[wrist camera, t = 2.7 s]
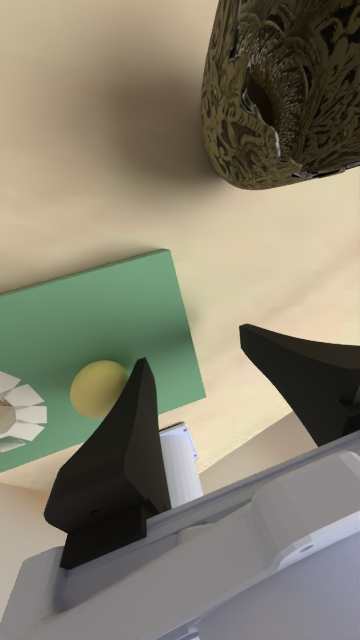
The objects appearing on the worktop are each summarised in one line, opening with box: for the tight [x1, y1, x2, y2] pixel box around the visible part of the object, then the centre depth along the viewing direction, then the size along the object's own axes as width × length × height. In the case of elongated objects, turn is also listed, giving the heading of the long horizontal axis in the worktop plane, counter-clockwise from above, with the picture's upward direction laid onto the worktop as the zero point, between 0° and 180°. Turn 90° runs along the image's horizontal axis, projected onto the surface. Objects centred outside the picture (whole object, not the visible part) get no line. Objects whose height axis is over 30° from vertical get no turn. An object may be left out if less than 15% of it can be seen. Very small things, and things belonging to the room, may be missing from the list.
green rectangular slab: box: [0, 249, 206, 473], centre depth 14 cm, size 14×22×3 cm, turn 104°
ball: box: [70, 360, 129, 419], centre depth 11 cm, size 4×4×4 cm
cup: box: [200, 0, 360, 190], centre depth 8 cm, size 7×7×8 cm
